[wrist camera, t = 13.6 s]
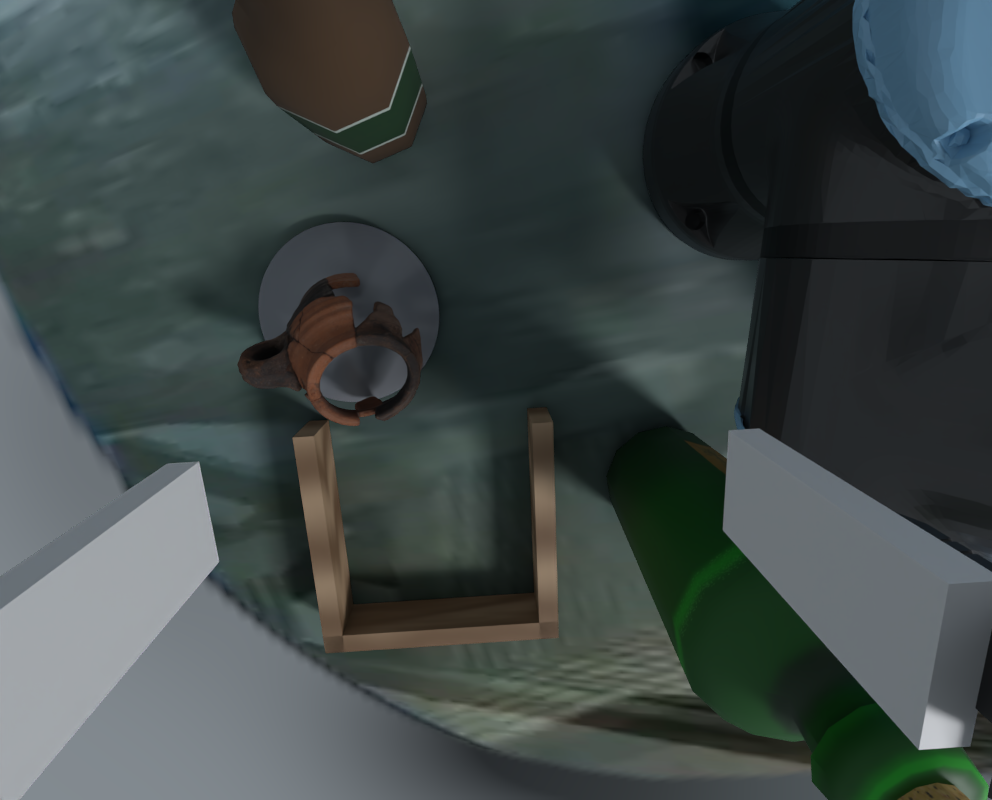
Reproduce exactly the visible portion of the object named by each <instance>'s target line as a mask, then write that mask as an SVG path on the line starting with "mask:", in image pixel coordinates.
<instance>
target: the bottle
mask: <svg viewBox="0 0 992 800" xmlns="http://www.w3.org/2000/svg"><path fill="white" fill-rule="evenodd" d="M726 467H727V459H726V458H725V457H724V456H722V455H721V454H720V453H718V452H717V451H715V450H714V449H713V448H711V447H710V446H709V445H707V444H706V443H705V442H703V441H702V440H701V439H699V438H698V437H697V436H695V435H694V434H692V433H689V432H686V431H682V430H679V429H675V428H671V427H668V426H665V427H661V428H657V429H652V430H648V431H644V432H640V433H638V434H637V435H635V436H634V437H633V438H632V439H631V440H629V441H628V442H627V443H626V444H625V445H623V446H622V447H621V448H620V449H619V450H617V451H616V454H615V456H614V459H613V461H612V464H611V466H610V469H609V471H608V473H607V476H606V477H607V482H608V488H609V494H610V500H611V502H612V505H613V507H614V509H615V512H616V514H617V516H618V519H619V521H620V523H621V526H622V528H623V530H624V533H625V535H626V537H627V540H628V542H629V544H630V547H631V549H632V551H633V553H634V556H635V558H636V560H637V563H638V565H639V567H640V570H641V572H642V574H643V577H644V579H645V581H646V584H647V586H648V588H649V591H650V593H651V595H652V598H653V600H654V602H655V605H656V607H657V609H658V612H659V614H660V616H661V619H662V621H663V623H664V626H665V628H666V630H667V633H668V635H669V637H670V639H671V642H672V644H673V646H674V649H675V651H676V653H677V656H678V658H679V660H680V663H681V665H682V667H683V670H684V672H685V674H686V677H687V679H688V681H689V684H690V686H691V688H692V691H693V692H694V693H695V694H696V695H698V696H699V697H700V698H701V699H702V700H703V701H704V702H705V703H706V704H707V705H708V706H709V707H711V708H712V709H713V710H714V711H715V712H716V713H717V714H718V715H719V716H720V717H721V718H722V719H724V720H725V721H727V722H729V723H731V724H733V725H735V726H737V727H739V728H741V729H743V730H745V731H747V732H749V733H751V734H754V735H759V736H765V737H770V738H776V739H781V740H786V741H792V742H794V741H802V740H805V741H806V743H807V745H808V747H809V748H810V750H811V752H812V755H811V771H812V782H813V783H814V785H815V786H816V787H817V788H818V789H819V790H820V791H821V792H822V793H823V794H824V796H825V797H826V798H827V799H828V800H987V796H988V787H989V786H988V784H987V783H986V782H985V780H984V778H983V777H982V775H981V774H980V773H979V771H978V770H977V768H976V767H975V765H974V764H973V762H972V761H971V759H970V758H969V757H968V755H967V754H966V752H965V751H964V749H963V748H962V747H953V748H939V749H925V750H918V749H917V747H916V746H915V745H914V744H913V743H912V742H911V741H910V740H909V738H908V737H907V736H906V735H905V734H904V733H903V732H902V731H901V730H900V728H899V727H898V726H897V725H896V724H895V723H894V722H893V721H892V719H891V718H890V717H889V716H888V715H887V714H886V713H885V712H884V710H883V709H882V708H881V707H880V706H879V705H878V704H877V703H876V701H875V700H874V699H873V698H872V697H871V696H870V695H869V694H868V693H867V691H866V690H865V689H864V688H863V687H862V686H861V685H860V684H859V682H858V681H857V680H856V679H855V678H854V677H853V676H852V675H851V673H850V672H849V671H848V670H847V669H846V668H845V667H844V666H843V664H842V663H841V662H840V661H839V660H838V659H837V658H836V657H835V656H834V654H833V653H832V652H831V651H830V650H829V649H828V648H827V647H826V645H825V644H824V643H823V642H822V641H821V640H820V639H819V638H818V636H817V635H816V634H815V633H814V632H813V631H812V630H811V629H810V627H809V626H808V625H807V624H806V623H805V622H804V621H803V620H802V618H801V617H800V616H799V615H798V614H797V613H796V612H795V611H794V610H793V608H792V607H791V606H790V605H789V604H788V603H787V602H786V601H785V599H784V598H783V597H782V596H781V595H780V594H779V593H778V592H777V590H776V589H775V588H774V587H773V586H772V585H771V584H770V583H769V581H768V580H767V579H766V578H765V577H764V576H763V575H762V574H761V573H760V571H759V570H758V569H757V568H756V567H755V566H754V565H753V564H752V562H751V561H750V560H749V559H748V558H747V557H746V556H745V555H744V553H743V552H742V551H741V550H740V549H739V548H738V547H737V546H736V544H735V543H734V542H733V541H732V540H731V539H730V538H729V537H728V535H727V534H726V533H725V532H724V531H723V517H724V500H725V484H726Z"/></svg>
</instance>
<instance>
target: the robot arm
mask: <svg viewBox="0 0 992 800" xmlns="http://www.w3.org/2000/svg"><path fill="white" fill-rule="evenodd" d="M643 165H644V174H645V180H646V184H647V188H648V191H649V195H650V197H651V200H652V202H653V204H654V206H655V209H656V211H657V212H658V214H659V216H660V217H661V219H662V220H663V222H664V223H665V224H666V225H667V227H668V228H669V229H670V230H671V231H672V232H673V233H674V234H675V235H676V236H677V237H678V238H679V239H680V240H682V241H683V242H684V243H686V244H687V245H689V246H690V247H692V248H694V249H696V250H698V251H699V252H702V253H704V254H707V255H710V256H713V257H717V258H722V259H729V260H759V262H758V270H757V278H756V285H755V293H754V300H753V308H752V316H751V323H750V331H749V338H748V344H747V351H746V358H745V364H744V371H743V377H742V384H741V391H740V397H739V398H738V400H737V403H736V405H735V410H734V417H735V422H736V426H737V430H729V435H728V451H727V467H726V484H725V500H724V517H723V531H724V532H725V533H726V534H727V535H728V537H729V538H730V539H731V540H732V541H733V542H734V543H735V544H736V546H737V547H738V548H739V549H740V550H741V551H742V552H743V553H744V555H745V556H746V557H747V558H748V559H749V560H750V561H751V562H752V564H753V565H754V566H755V567H756V568H757V569H758V570H759V571H760V573H761V574H762V575H763V576H764V577H765V578H766V579H767V580H768V581H769V583H770V584H771V585H772V586H773V587H774V588H775V589H776V590H777V592H778V593H779V594H780V595H781V596H782V597H783V598H784V599H785V601H786V602H787V603H788V604H789V605H790V606H791V607H792V608H793V610H794V611H795V612H796V613H797V614H798V615H799V616H800V617H801V618H802V620H803V621H804V622H805V623H806V624H807V625H808V626H809V627H810V629H811V630H812V631H813V632H814V633H815V634H816V635H817V636H818V638H819V639H820V640H821V641H822V642H823V643H824V644H825V645H826V647H827V648H828V649H829V650H830V651H831V652H832V653H833V654H834V656H835V657H836V658H837V659H838V660H839V661H840V662H841V663H842V664H843V666H844V667H845V668H846V669H847V670H848V671H849V672H850V673H851V675H852V676H853V677H854V678H855V679H856V680H857V681H858V682H859V684H860V685H861V686H862V687H863V688H864V689H865V690H866V691H867V693H868V694H869V695H870V696H871V697H872V698H873V699H874V700H875V701H876V703H877V704H878V705H879V706H880V707H881V708H882V709H883V710H884V712H885V713H886V714H887V715H888V716H889V717H890V718H891V719H892V721H893V722H894V723H895V724H896V725H897V726H898V727H899V728H900V730H901V731H902V732H903V733H904V734H905V735H906V736H907V737H908V738H909V740H910V741H911V742H912V743H913V744H914V745H915V746H916V747H917V749H918V750H925V749H939V748H953V747H967V746H970V745H971V740H972V735H973V731H974V726H975V721H976V716H977V712H978V711H979V712H980V713H981V714H982V715H983V716H985V717H986V718H987V719H988V720H989V721H990V722H991V723H992V0H800V1H799V2H798V3H797V4H795V5H794V6H793V7H792V8H791V9H789V10H784V11H776V12H768V13H762V14H757V15H753V16H749V17H746V18H744V19H741V20H738V21H736V22H734V23H731V24H729V25H728V26H726V27H724V28H722V29H720V30H719V31H717V32H715V33H714V34H712V35H711V36H710V37H708V38H707V39H706V40H704V41H703V42H702V43H701V44H700V45H698V46H697V47H696V48H695V49H694V50H693V51H692V52H691V53H690V54H689V55H688V56H687V57H686V58H685V59H684V60H683V61H682V62H681V63H680V64H679V65H678V66H677V67H676V68H675V69H674V71H673V72H672V73H671V75H670V76H669V77H668V79H667V80H666V82H665V83H664V85H663V87H662V88H661V90H660V92H659V94H658V96H657V98H656V100H655V102H654V105H653V107H652V109H651V112H650V115H649V119H648V122H647V126H646V131H645V137H644V146H643ZM770 258H807V259H770ZM839 259H865V260H839ZM902 260H921V261H902ZM962 261H967V262H962ZM218 563H219V558H218V553H217V548H216V544H215V539H214V534H213V529H212V524H211V519H210V514H209V509H208V504H207V499H206V494H205V489H204V484H203V479H202V474H201V469H200V464H199V462H186V463H169V464H166V465H165V466H163V467H162V468H160V469H159V470H157V471H156V472H154V473H153V474H151V475H150V476H148V477H147V478H145V479H144V480H142V481H141V482H139V483H138V484H136V485H135V486H133V487H132V488H131V489H129V490H128V491H126V492H125V493H123V494H122V495H120V496H119V497H117V498H116V499H114V500H113V501H111V502H110V503H108V504H107V505H105V506H104V507H102V508H101V509H99V510H98V511H97V512H95V513H94V514H92V515H91V516H89V517H88V518H86V519H85V520H83V521H82V522H80V523H79V524H77V525H76V526H74V527H73V528H71V529H70V530H68V531H67V532H65V533H64V534H62V535H61V536H59V537H58V538H57V539H55V540H53V541H52V542H50V543H49V544H48V545H46V546H45V547H43V548H42V549H40V550H39V551H37V552H36V553H34V554H33V555H31V556H30V557H28V558H27V559H25V560H24V561H22V562H21V563H20V564H18V565H16V566H15V567H13V568H12V569H10V570H9V571H8V572H6V573H5V574H3V575H2V576H0V800H19V799H20V798H21V797H22V796H23V795H24V793H25V792H26V791H27V790H28V789H29V788H30V786H31V785H32V784H33V783H34V782H35V780H36V779H37V778H38V777H39V776H40V774H41V773H42V772H43V771H44V770H45V769H46V767H47V766H48V765H49V764H50V763H51V761H52V760H53V759H54V758H55V757H56V755H57V754H58V753H59V752H60V751H61V749H62V748H63V747H64V746H65V745H66V743H67V742H68V741H69V740H70V739H71V738H72V736H73V735H74V734H75V733H76V731H77V730H78V729H79V728H80V727H81V726H82V724H83V723H84V722H85V721H86V720H87V719H88V717H89V716H90V715H91V714H92V712H93V711H94V710H95V709H96V708H97V707H98V705H99V704H100V703H101V702H102V701H103V699H104V698H105V697H106V696H107V695H108V694H109V692H110V691H111V690H112V689H113V687H114V686H115V685H116V684H117V683H118V682H119V680H120V679H121V678H122V677H123V676H124V674H125V673H126V672H127V671H128V670H129V668H130V667H131V666H132V665H133V664H134V663H135V661H136V660H137V659H138V658H139V657H140V655H141V654H142V653H143V652H144V651H145V649H146V648H147V647H148V646H149V645H150V644H151V642H152V641H153V640H154V638H156V636H157V635H158V634H159V633H160V632H161V630H162V629H163V628H164V627H165V626H166V624H167V623H168V622H169V621H170V619H172V617H173V616H174V615H175V614H176V613H177V611H178V610H179V609H180V608H181V607H182V605H183V604H184V603H185V602H186V601H187V599H188V598H189V597H190V596H191V595H192V594H193V592H194V591H195V590H196V589H197V588H198V586H199V585H200V584H201V583H202V582H203V580H204V579H205V578H206V577H207V576H208V574H209V573H210V572H211V571H212V570H213V569H214V567H215V566H216V565H217V564H218ZM988 798H991V799H992V779H991V784H990V788H989V793H988Z"/></svg>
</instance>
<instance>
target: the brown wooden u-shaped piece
mask: <svg viewBox="0 0 992 800" xmlns="http://www.w3.org/2000/svg"><path fill="white" fill-rule="evenodd" d="M527 416H528V442H529V469H530V495H531V521H532V548H533V574H534V593H522V594H507V595H491V596H476V597H460V598H445V599H429V600H414V601H398V602H383V603H367V604H353V597H352V590H351V583H350V575H349V568H348V560H347V553H346V546H345V538H344V531H343V523H342V516H341V509H340V501H339V494H338V486H337V479H336V472H335V464H334V457H333V449H332V442H331V435H330V427H329V420H318V421H309V422H308V423H307V424H306V425H305V426H304V427H303V428H302V429H301V430H300V431H299V432H298V433H297V434H295V435H294V436H293V437H292V438H293V444H294V451H295V457H296V464H297V470H298V477H299V483H300V490H301V496H302V503H303V509H304V516H305V522H306V529H307V535H308V542H309V548H310V555H311V561H312V568H313V574H314V581H315V587H316V594H317V600H318V607H319V613H320V620H321V626H322V633H323V639H324V646H325V652H326V653H336V652H351V651H366V650H381V649H396V648H411V647H427V646H442V645H457V644H472V643H487V642H502V641H517V640H532V639H547V638H559V634H558V594H557V555H556V516H555V477H554V437H553V421H552V419H551V416H550V414H549V412H548V410H547V408H546V407H541V408H527Z"/></svg>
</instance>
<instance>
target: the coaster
mask: <svg viewBox="0 0 992 800" xmlns="http://www.w3.org/2000/svg"><path fill="white" fill-rule="evenodd" d="M341 273H354V274H356V275H357V277H358V278H359V280H360V285H359V286H358V287H345V288H338V289H333V290H332V291H333V292H334V294H335V297H336V296H346V297H348V298H349V299H350V300H351V301H352V303H353V307H352V311H353V319H354V325H355V327H357V326H359V325H360V324H361V323H362V322H363V321H364V320H365V319H366V318H367V317H368V315H369V314H371V313H372V312H373V307H374V303H375V302H377V301H378V302H382V303H384V304H386V305H389V306H390V307H391V308H392V310H393V313H394V315H395V317H396V318H397V319H398V320H399V322H400V324H401V327H402V337H405V336H406V335H408V334H410V333H412V332H413V330H414V329H415V328H418V329H419V332H420V337H421V349H422V358H423V366H422V368H423V367H424V366H425V364H426V362H427V361H428V359H429V357H430V355H431V353H432V351H433V348H434V346H435V343H436V339H437V336H438V331H439V322H440V310H439V303H438V297H437V293H436V290H435V286H434V284H433V282H432V279H431V277H430V275H429V273H428V271H427V270H426V268H425V266H424V265H423V263H422V262H421V261H420V259H419V258H418V257H417V256H416V255H415V253H414V252H413V251H412V250H411V249H410V248H409V247H408V246H406V245H405V244H404V243H402V242H401V241H400V240H399V239H397V238H395V237H394V236H392V235H390V234H389V233H387V232H384V231H382V230H380V229H378V228H375V227H371V226H368V225H364V224H359V223H352V222H334V223H326V224H322V225H319V226H315V227H312V228H310V229H308V230H305V231H303V232H301V233H300V234H298V235H296V236H295V237H293V238H292V239H291V240H290V241H288V242H287V243H286V244H285V245H284V246H283V247H282V248H281V249H280V250H279V251H278V252H277V253H276V255H275V256H274V258H273V259H272V261H271V262H270V264H269V266H268V268H267V270H266V272H265V274H264V277H263V280H262V283H261V287H260V293H259V305H258V310H259V321H260V325H261V330H262V333H263V336H264V339H265V341H266V340H271V339H273V338H276V337H277V336H279V335H281V334H282V333H283V332H284V331H286V328H287V323H288V322H289V321H290V319H291V317H292V315H293V313H294V312H295V310H296V309H297V307H298V306H299V304H300V301H301V299H302V298H303V296H304V294H305V293H306V292H307V291H308V290H309V288H310V287H311V286H312V285H314V284H315V283H317V282H318V281H320V280H322V279H324V278H327V277H329V276H332V275H335V274H341ZM421 370H422V369H421ZM406 379H407V365H406V363H405V361H404V359H403V358H402V357H401V356H400V355H399V354H397V353H396V352H394V351H392V350H390V349H387V348H384V347H381V346H373V345H372V346H358V347H356V348H353V349H350V350H348V351H345V352H343V353H341V354H340V355H338V356H337V357H336V358H334V359H333V360H332V361H331V362H330V363H329V364H328V365H327V367H326V368H325V370H324V372H323V374H322V376H321V379H320V391H321V393H322V395H323V396H324V397H326V398H330V399H334V400H338V401H346V402H359V401H361V400H363V399H366V398H369V397H372V396H374V397H377V398H378V399H379V398H382V397H385V396H387V395H390V394H392V393H394V392H396V391H398V390H399V389H401V388H402V387H403V385H404V383H405V381H406Z"/></svg>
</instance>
